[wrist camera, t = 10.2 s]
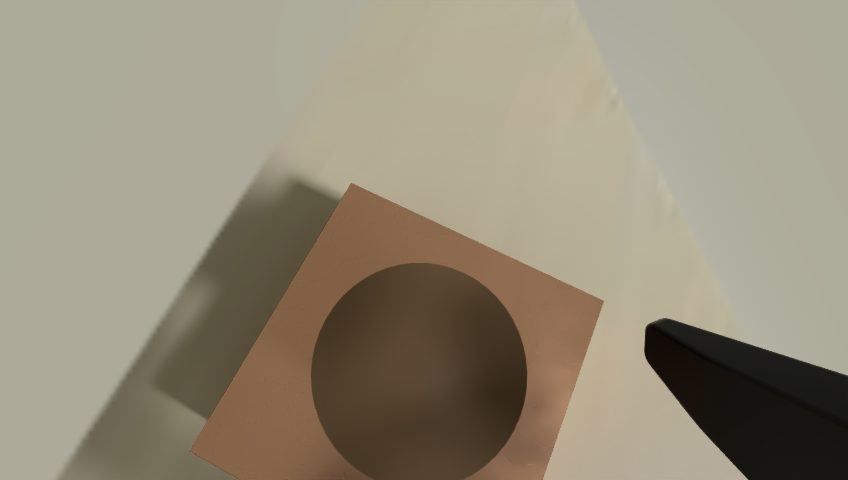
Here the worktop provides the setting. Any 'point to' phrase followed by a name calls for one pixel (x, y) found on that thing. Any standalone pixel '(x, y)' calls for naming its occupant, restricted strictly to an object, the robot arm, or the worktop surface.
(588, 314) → the hollow square frame
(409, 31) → the worktop surface
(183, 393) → the worktop surface
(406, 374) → the pin
